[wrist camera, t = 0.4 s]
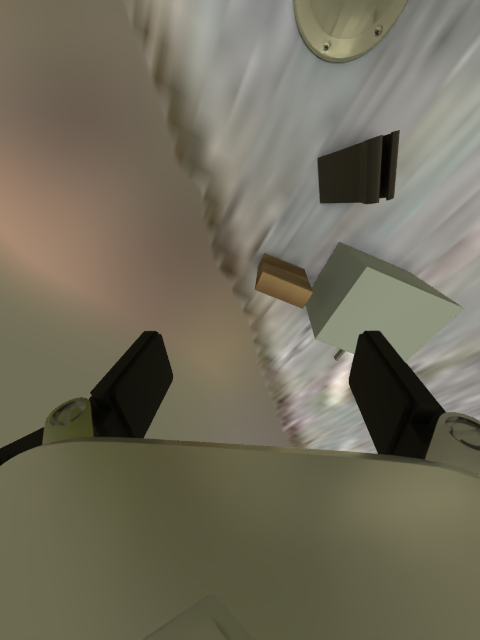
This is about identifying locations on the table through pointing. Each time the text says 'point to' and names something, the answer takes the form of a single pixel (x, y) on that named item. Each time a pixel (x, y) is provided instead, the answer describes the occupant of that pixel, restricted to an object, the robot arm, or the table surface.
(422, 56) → the table surface
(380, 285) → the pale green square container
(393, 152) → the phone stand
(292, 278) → the tan rectangular block
